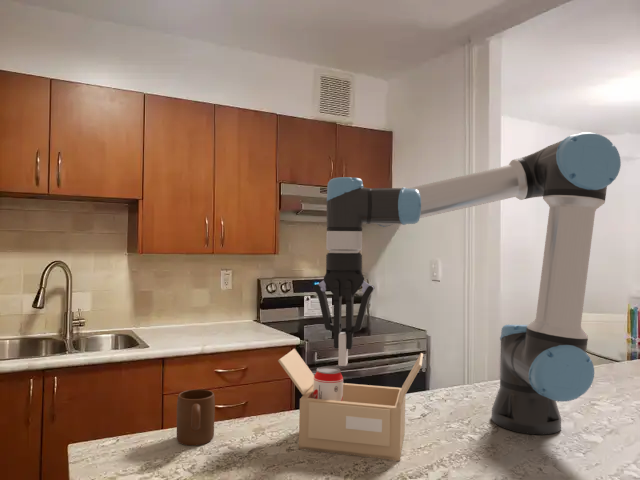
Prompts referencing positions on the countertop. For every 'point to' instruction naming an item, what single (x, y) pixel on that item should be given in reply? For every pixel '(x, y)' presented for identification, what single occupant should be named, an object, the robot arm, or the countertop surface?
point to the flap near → (411, 377)
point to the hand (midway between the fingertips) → (343, 364)
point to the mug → (195, 417)
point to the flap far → (297, 371)
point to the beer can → (328, 384)
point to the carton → (354, 422)
